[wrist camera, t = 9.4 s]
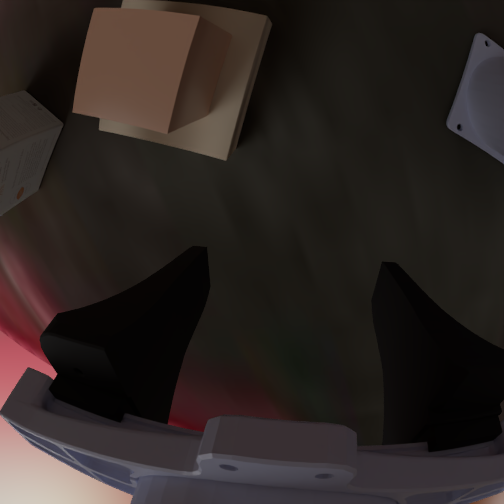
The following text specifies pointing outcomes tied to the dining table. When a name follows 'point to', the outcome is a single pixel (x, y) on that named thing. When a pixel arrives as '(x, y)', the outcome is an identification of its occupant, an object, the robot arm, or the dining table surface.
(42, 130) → the small box
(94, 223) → the dining table surface
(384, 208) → the dining table surface
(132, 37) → the terracotta block
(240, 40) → the maple base block
